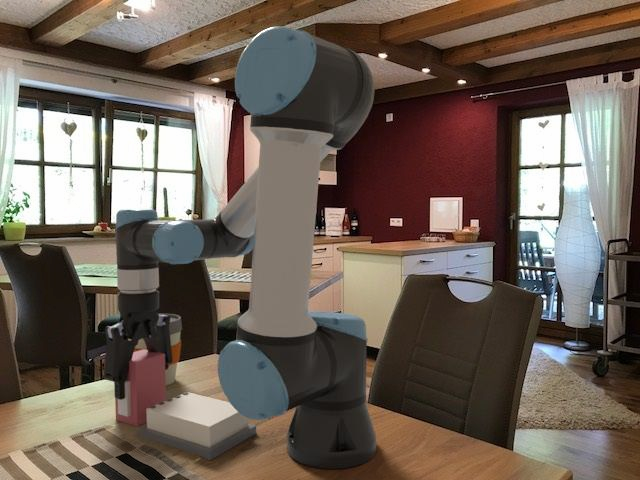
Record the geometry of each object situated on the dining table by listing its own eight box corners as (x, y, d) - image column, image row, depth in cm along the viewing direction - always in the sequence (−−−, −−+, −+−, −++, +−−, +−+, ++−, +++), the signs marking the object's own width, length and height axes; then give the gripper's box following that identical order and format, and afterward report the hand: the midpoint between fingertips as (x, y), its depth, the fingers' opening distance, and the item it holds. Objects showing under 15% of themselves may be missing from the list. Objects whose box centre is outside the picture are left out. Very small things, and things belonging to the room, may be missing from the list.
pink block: (166, 413, 105) (164, 353, 105) (137, 426, 100) (135, 362, 99) (145, 407, 109) (143, 349, 108) (115, 419, 103) (114, 357, 102)
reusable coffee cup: (194, 380, 127) (193, 317, 126) (151, 395, 116) (149, 327, 115) (158, 371, 134) (157, 311, 133) (114, 385, 123) (113, 320, 122)
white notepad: (256, 433, 97) (256, 405, 97) (210, 460, 87) (209, 428, 86) (187, 414, 106) (187, 388, 106) (138, 436, 96) (138, 408, 95)
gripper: (164, 282, 113) (166, 389, 114) (78, 295, 96) (82, 421, 97) (190, 285, 109) (192, 395, 110) (106, 299, 92) (109, 430, 93)
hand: (141, 407), depth 104 cm, fingers closed on pink block, 7 cm apart
